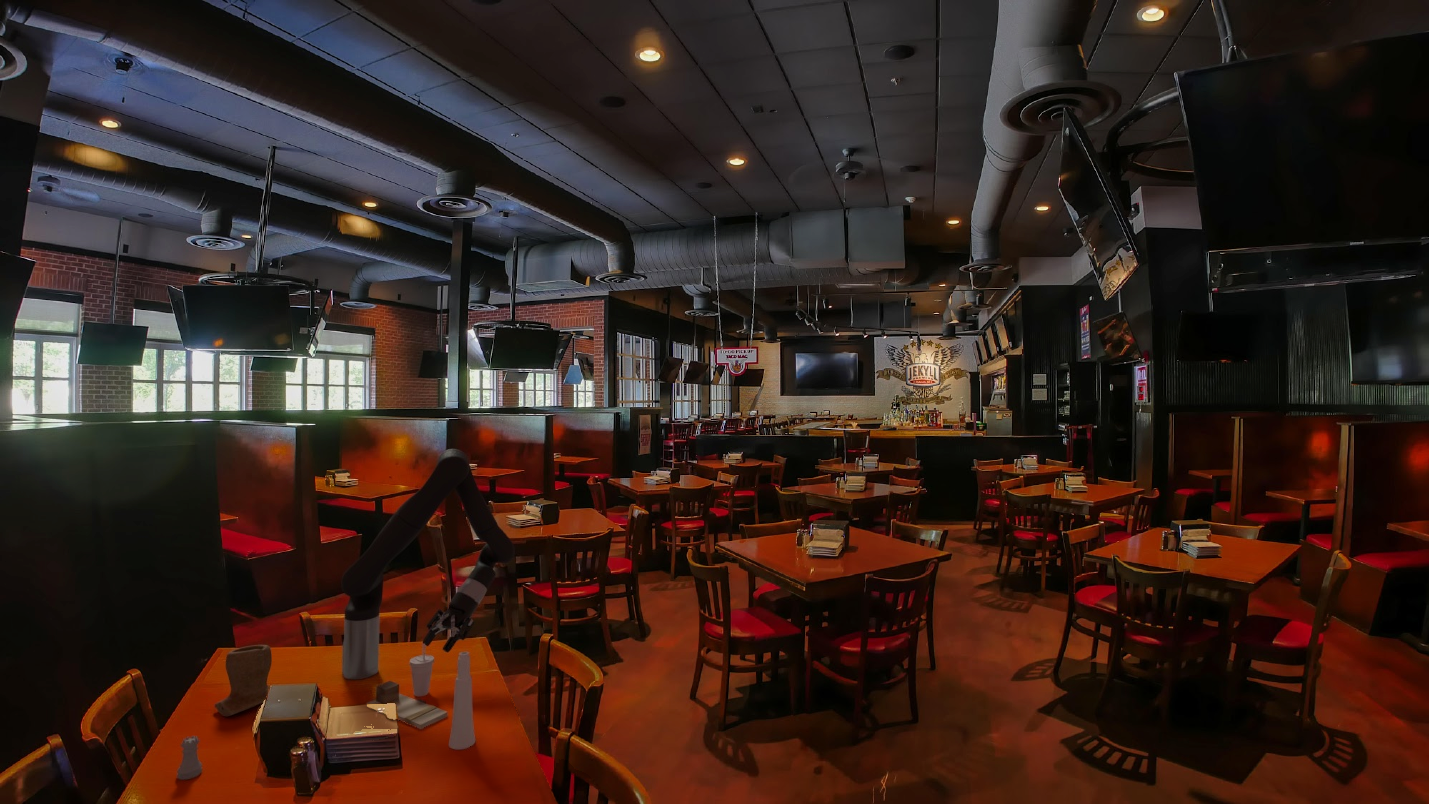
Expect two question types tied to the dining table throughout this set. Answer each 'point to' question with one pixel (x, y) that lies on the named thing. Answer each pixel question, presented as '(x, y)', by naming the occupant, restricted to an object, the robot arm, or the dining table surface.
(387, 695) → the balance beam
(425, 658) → the white drink cup
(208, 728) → the dining table surface
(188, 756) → the rook chess piece
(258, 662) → the brown boot
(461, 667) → the cosmetic bottle
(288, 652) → the dining table surface
